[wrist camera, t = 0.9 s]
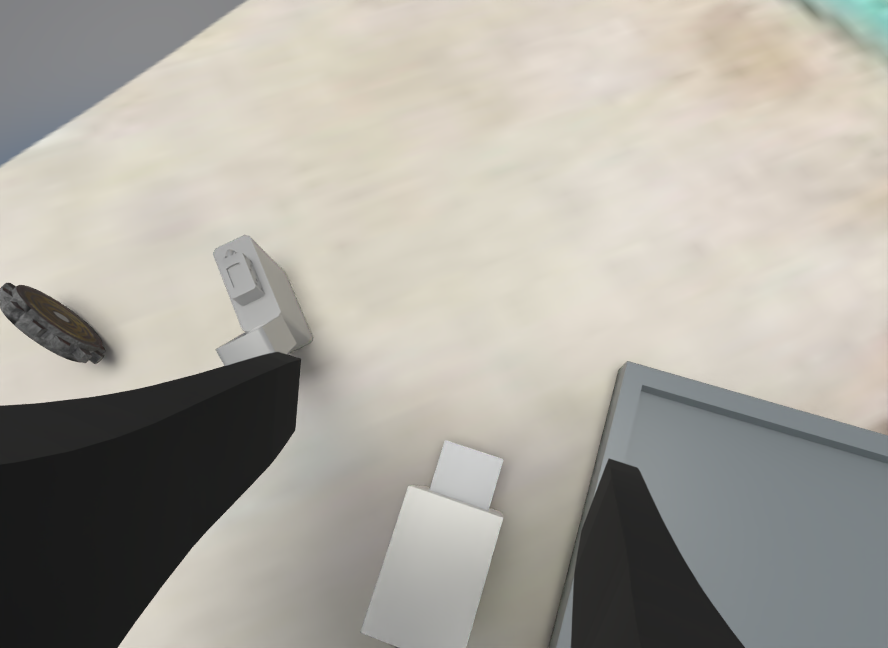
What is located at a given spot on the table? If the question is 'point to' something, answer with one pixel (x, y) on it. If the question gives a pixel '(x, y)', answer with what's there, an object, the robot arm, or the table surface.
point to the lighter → (259, 303)
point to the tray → (757, 509)
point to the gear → (50, 323)
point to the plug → (438, 555)
